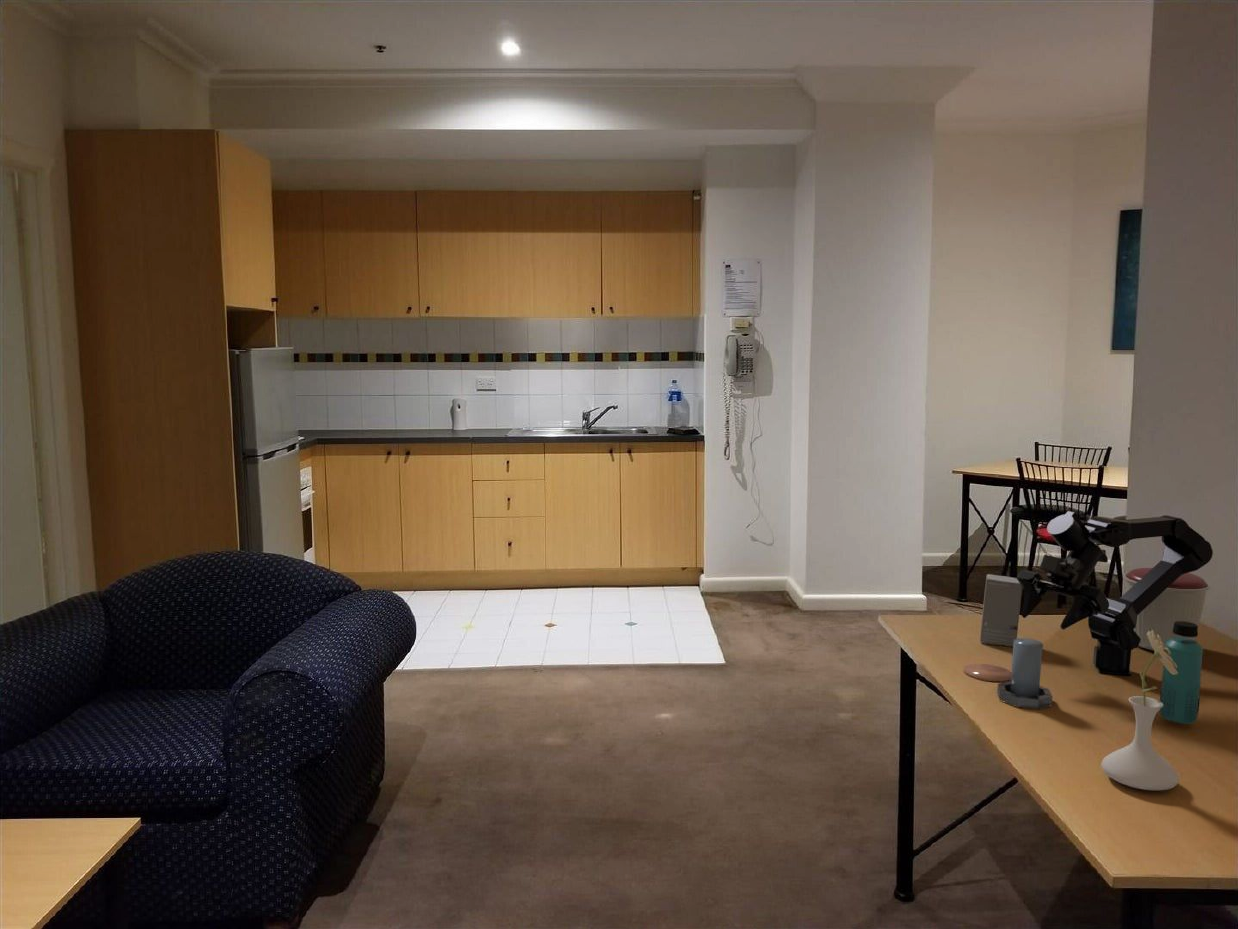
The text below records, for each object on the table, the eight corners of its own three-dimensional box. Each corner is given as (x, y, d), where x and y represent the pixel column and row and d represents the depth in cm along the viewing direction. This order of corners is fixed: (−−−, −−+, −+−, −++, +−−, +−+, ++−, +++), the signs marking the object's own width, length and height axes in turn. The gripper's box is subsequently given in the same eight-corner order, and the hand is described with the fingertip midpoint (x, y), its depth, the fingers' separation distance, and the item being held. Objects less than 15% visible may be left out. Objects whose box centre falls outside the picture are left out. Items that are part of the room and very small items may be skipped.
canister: (1206, 644, 234) (1214, 559, 231) (1201, 664, 219) (1210, 574, 216) (1122, 630, 244) (1130, 548, 241) (1112, 649, 229) (1120, 562, 226)
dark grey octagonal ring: (1046, 693, 199) (1046, 684, 199) (1054, 711, 190) (1054, 701, 189) (995, 688, 202) (996, 679, 201) (1000, 705, 192) (1001, 695, 192)
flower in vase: (1176, 804, 152) (1191, 651, 149) (1096, 786, 158) (1109, 638, 155) (1179, 773, 163) (1194, 630, 160) (1104, 757, 169) (1117, 618, 166)
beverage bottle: (1202, 733, 180) (1213, 629, 178) (1163, 729, 182) (1173, 626, 179) (1189, 719, 187) (1199, 619, 184) (1152, 716, 188) (1161, 616, 185)
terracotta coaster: (1009, 668, 214) (1009, 666, 214) (1015, 684, 204) (1015, 681, 204) (961, 664, 217) (961, 661, 217) (965, 679, 207) (965, 676, 207)
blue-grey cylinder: (1036, 696, 198) (1040, 639, 196) (1040, 706, 192) (1044, 647, 191) (1008, 693, 199) (1012, 637, 197) (1011, 703, 194) (1015, 645, 192)
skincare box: (979, 643, 231) (984, 579, 229) (980, 635, 238) (985, 572, 236) (1018, 648, 228) (1022, 583, 226) (1017, 639, 235) (1022, 576, 233)
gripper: (1025, 533, 211) (988, 589, 207) (1105, 550, 195) (1067, 610, 191) (1045, 564, 216) (1009, 619, 212) (1125, 583, 200) (1088, 643, 196)
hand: (1042, 622), depth 203 cm, fingers open, 9 cm apart
